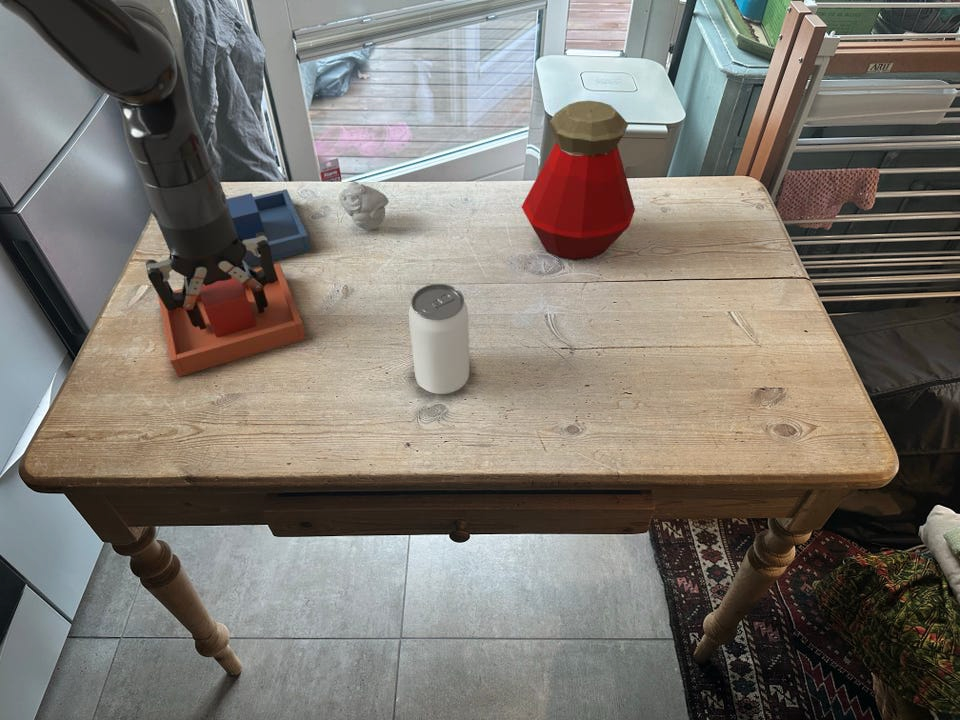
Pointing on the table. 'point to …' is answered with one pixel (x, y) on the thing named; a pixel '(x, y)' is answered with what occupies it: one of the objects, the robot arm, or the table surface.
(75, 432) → the table surface
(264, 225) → the blue tray
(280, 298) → the orange tray
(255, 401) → the table surface
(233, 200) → the blue block
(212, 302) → the red block
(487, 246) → the table surface
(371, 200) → the frog figurine
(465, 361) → the can
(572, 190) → the bottle
